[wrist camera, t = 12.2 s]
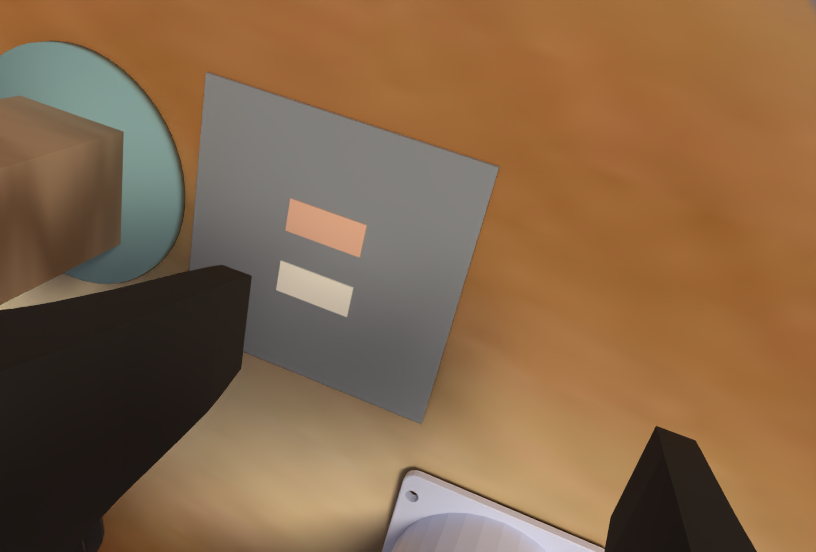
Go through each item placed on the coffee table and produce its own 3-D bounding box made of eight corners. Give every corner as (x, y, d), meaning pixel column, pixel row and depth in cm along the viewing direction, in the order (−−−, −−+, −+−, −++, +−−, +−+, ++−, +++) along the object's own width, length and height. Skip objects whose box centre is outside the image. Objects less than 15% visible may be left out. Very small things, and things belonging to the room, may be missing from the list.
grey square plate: (422, 421, 25) (420, 425, 25) (186, 325, 27) (183, 328, 27) (499, 166, 20) (498, 168, 20) (208, 72, 22) (204, 72, 22)
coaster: (176, 310, 27) (168, 316, 26) (-10, 235, 28) (-20, 239, 28) (194, 83, 23) (185, 85, 22) (-25, 11, 24) (-38, 11, 24)
